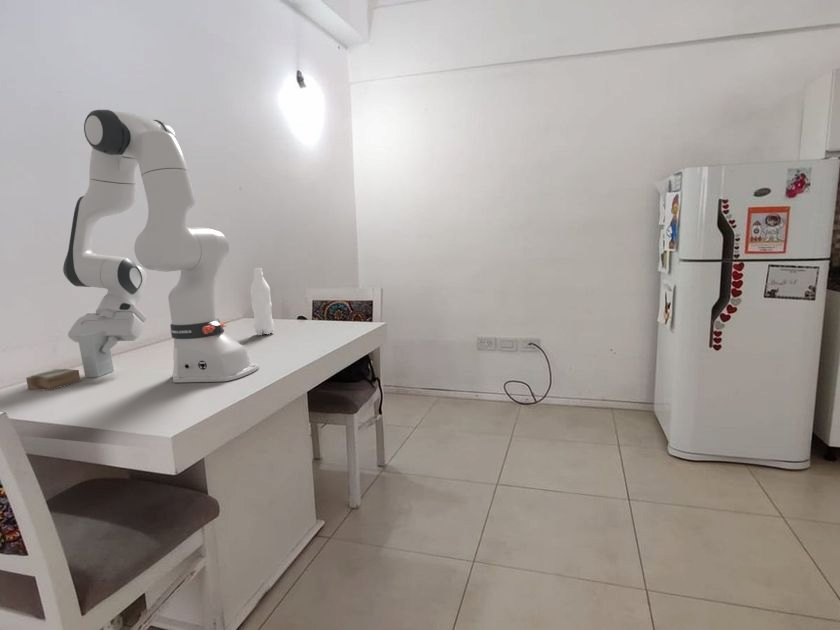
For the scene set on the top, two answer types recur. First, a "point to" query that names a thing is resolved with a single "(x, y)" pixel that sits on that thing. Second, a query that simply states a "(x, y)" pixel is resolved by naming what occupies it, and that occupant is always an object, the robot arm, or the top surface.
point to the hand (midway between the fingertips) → (93, 352)
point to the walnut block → (53, 379)
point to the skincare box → (94, 354)
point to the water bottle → (261, 304)
